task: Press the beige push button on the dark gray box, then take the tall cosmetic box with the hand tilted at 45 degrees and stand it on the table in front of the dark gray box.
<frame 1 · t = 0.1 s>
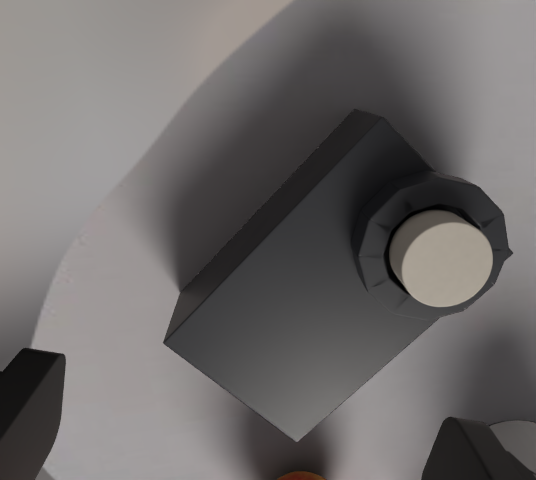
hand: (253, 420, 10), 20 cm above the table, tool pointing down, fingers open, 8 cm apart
mug: (482, 471, 37), on the table
dark gray box: (318, 257, 30), on the table
beige push button: (438, 257, 21), point 9 cm above the table, slide at 0.1 cm
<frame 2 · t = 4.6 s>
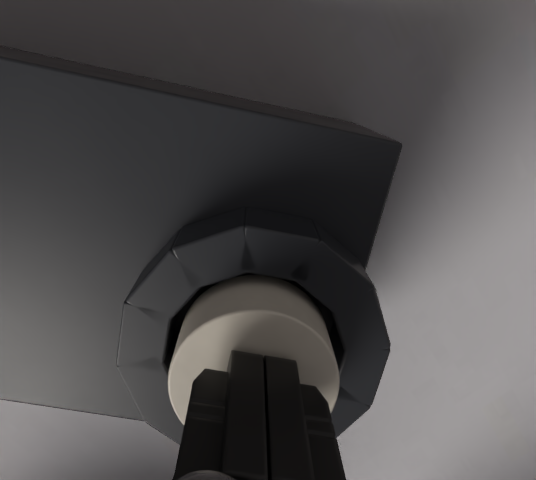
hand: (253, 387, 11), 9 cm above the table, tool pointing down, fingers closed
dark gray box: (131, 206, 19), on the table
beige push button: (254, 362, 12), point 8 cm above the table, slide at -0.3 cm, touching gripper
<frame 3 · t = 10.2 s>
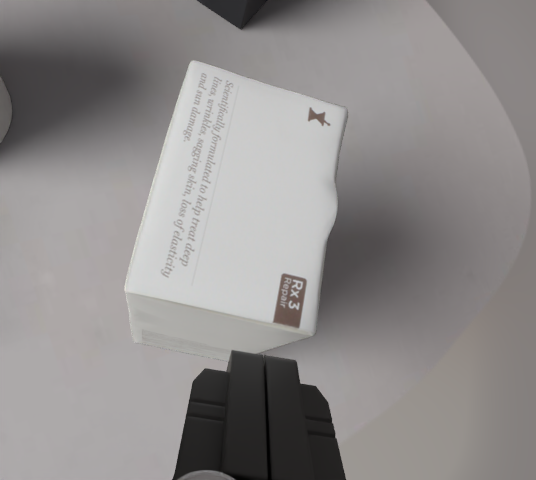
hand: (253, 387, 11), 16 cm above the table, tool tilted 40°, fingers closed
cosmetic box: (200, 291, 28), on the table
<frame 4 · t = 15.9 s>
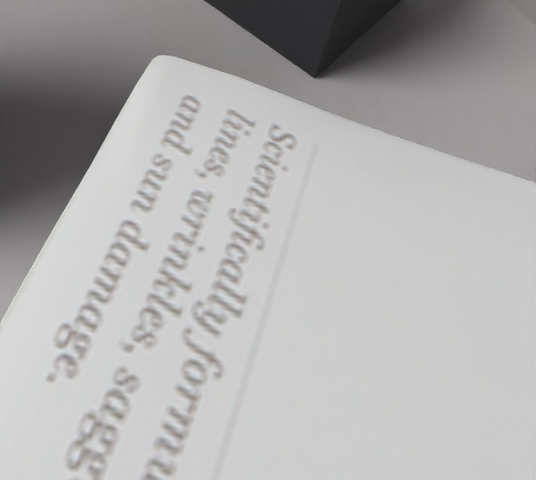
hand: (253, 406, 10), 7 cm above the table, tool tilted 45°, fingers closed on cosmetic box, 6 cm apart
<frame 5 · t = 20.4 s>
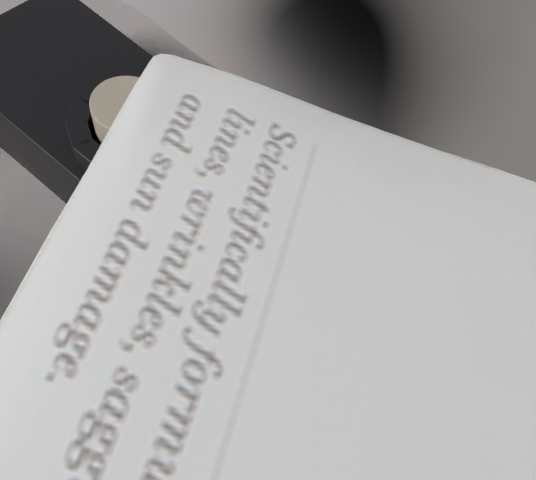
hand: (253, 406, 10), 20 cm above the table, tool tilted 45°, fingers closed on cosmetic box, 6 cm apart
dark gray box: (98, 143, 35), on the table
beige push button: (129, 115, 27), point 9 cm above the table, slide at 0.1 cm
when the fingers open (7 cm above the table, at t = 24.7 s): cosmetic box stays where it is, on the table.
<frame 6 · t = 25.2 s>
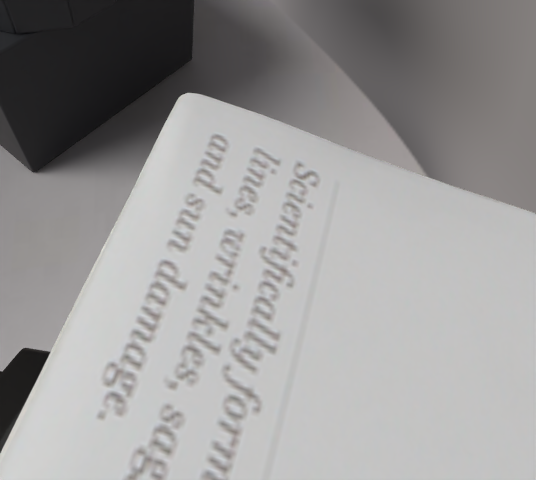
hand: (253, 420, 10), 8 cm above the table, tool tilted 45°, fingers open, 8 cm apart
dark gray box: (5, 19, 24), on the table
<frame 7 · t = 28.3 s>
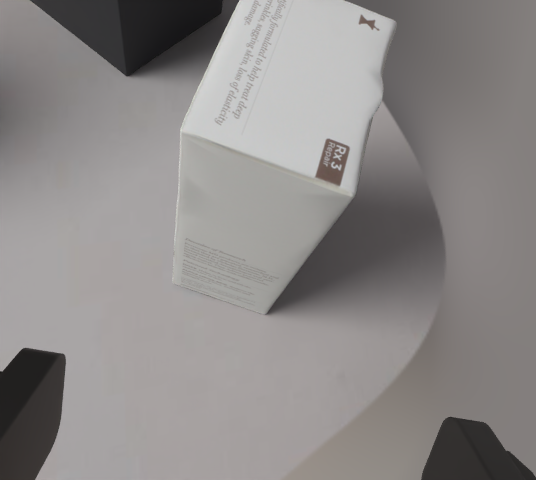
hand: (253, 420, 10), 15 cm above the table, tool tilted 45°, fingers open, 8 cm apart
cosmetic box: (240, 247, 29), on the table
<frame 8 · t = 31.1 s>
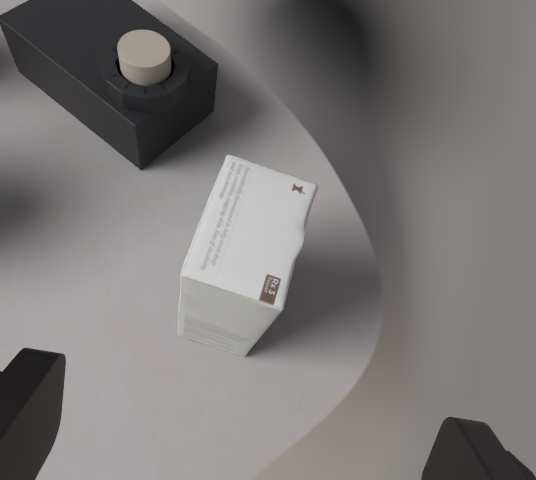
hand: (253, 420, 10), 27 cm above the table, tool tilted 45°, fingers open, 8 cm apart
dark gray box: (118, 91, 46), on the table
beige push button: (145, 58, 37), point 9 cm above the table, slide at 0.1 cm
cosmetic box: (227, 305, 39), on the table
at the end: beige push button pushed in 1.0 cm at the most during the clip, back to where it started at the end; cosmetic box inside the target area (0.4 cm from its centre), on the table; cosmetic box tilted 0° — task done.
